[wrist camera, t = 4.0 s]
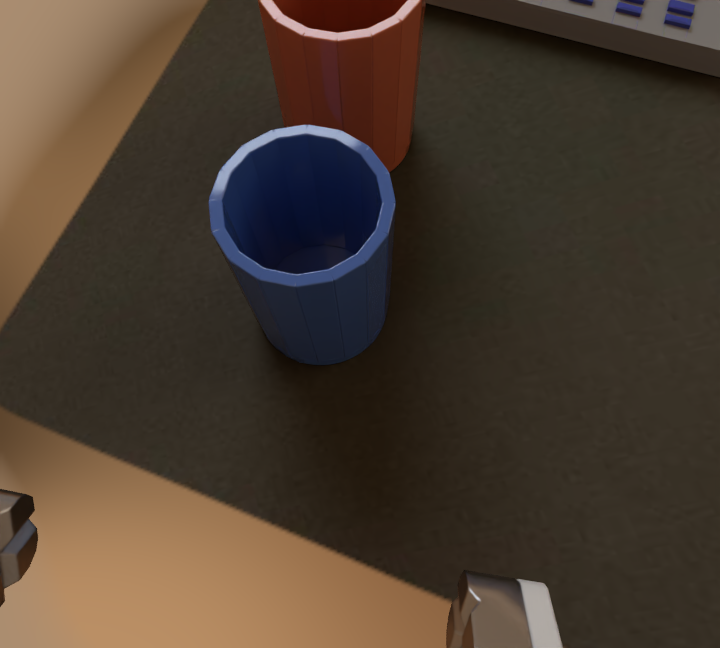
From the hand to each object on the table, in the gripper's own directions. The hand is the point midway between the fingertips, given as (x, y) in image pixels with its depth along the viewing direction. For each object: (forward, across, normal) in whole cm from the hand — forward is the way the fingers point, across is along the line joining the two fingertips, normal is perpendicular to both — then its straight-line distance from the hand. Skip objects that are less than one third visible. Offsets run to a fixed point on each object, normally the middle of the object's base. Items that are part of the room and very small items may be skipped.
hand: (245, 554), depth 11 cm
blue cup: (+19, +1, +3) cm, 20 cm away
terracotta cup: (+27, +1, -4) cm, 27 cm away
